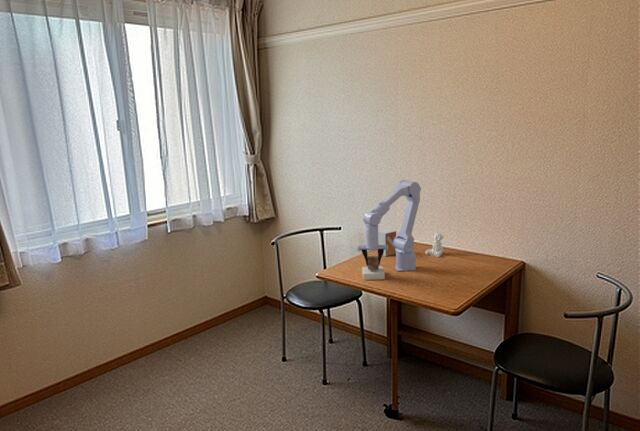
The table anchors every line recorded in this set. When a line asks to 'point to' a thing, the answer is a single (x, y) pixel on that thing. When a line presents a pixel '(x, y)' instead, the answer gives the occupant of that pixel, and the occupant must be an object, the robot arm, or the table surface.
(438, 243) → the white creature statuette
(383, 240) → the small box
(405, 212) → the robot arm
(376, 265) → the walnut cube
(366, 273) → the base block
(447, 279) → the table surface
